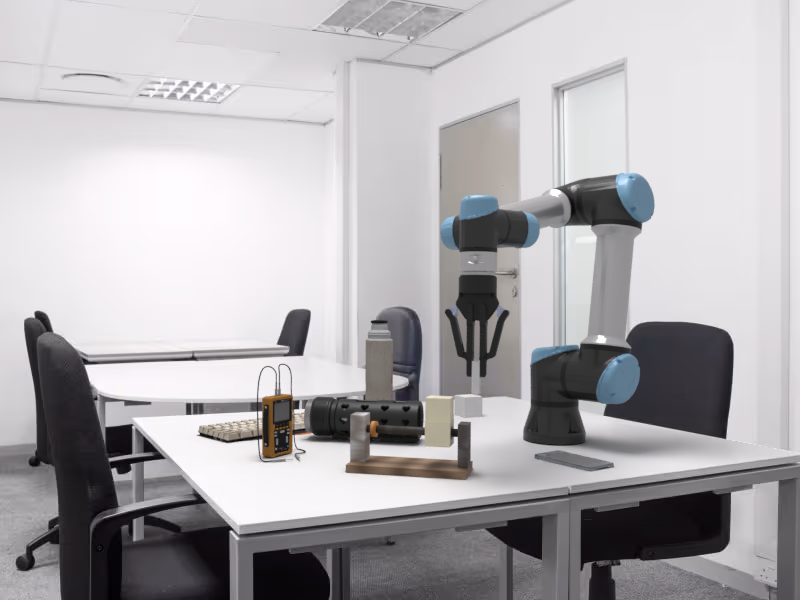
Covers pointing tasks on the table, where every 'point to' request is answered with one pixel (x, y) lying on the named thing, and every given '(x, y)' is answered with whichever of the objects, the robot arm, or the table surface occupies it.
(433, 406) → the stacked cream cubes
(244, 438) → the mechanical keyboard
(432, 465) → the twin post axle stand
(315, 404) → the muzzle brake
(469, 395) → the white cube
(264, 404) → the multimeter
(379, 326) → the thermos bottle
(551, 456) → the phone
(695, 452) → the table surface
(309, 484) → the table surface
